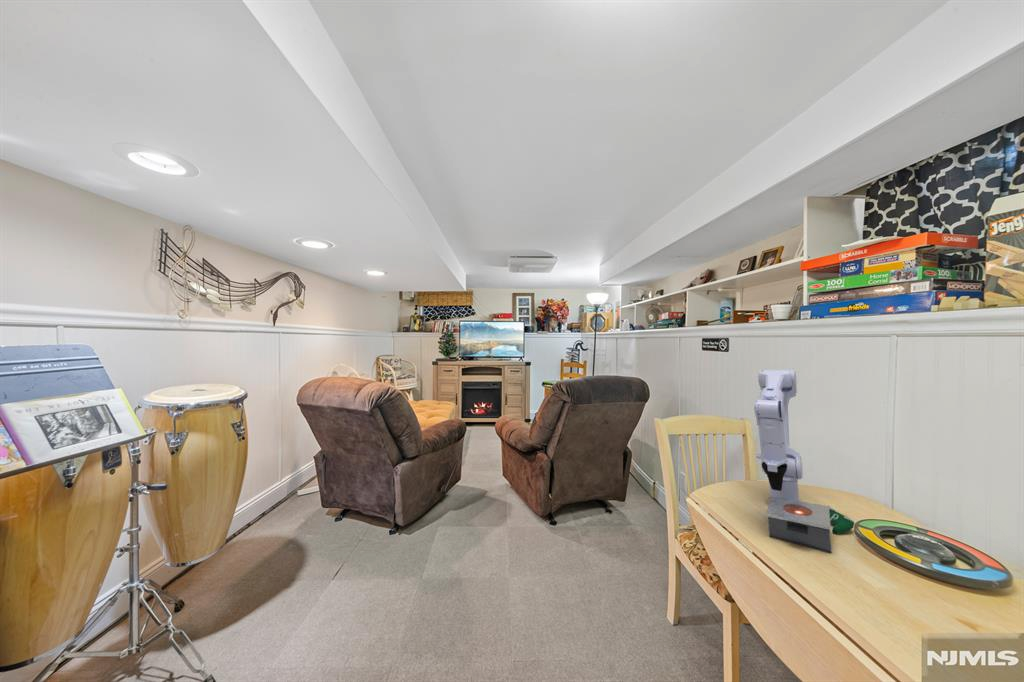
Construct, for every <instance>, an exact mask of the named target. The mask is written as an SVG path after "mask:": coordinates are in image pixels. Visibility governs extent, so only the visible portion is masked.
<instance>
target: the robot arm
mask: <svg viewBox="0 0 1024 682" xmlns="http://www.w3.org/2000/svg"><path fill="white" fill-rule="evenodd" d="M796 373H797V372H796V371H795V370H794V369H793V368H792V369H764V370H763V369H759V370H758V372H757V375H758V377H757V380H758V385H759V388H760V395H759V396H758V397H759V398H758V400H757V401H756V400H755V401H754V404H753V405H754V407H753V410H754V416H755V418H756V425H757V426H758V434H759V435H758V436H759V446H760V447H759V448H760V453H759V454H756V455H755V458H756V459H758V460H759V459H760V463H761V464H760V465H761V471H762V472H763V473H764V474H765V475H766V477H767V479H768V485H769V496H770V497H771V496H773V497H779V498H785V499H790V500H796V501H802V502H803V499H802V500H801V499H800V492H799V491H800V490H799V483H798V482H799V481H798V480H802V479H803V476H804V475H803V463H802V458H801V457H802V455H800V453H799V452H797V451H796V450H795V449H793V447H791V446H790V434H789V433H790V430H789V429H790V428H789V403H790V400H791V399H792V398H794V397H796V396H797V393H798V389H797V387H798V385H797V383H798V381H797V375H796ZM767 503H768V504H769V502H767ZM768 504H767V505H768Z"/></svg>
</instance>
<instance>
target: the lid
mask: <svg viewBox="0 0 1024 682" xmlns="http://www.w3.org/2000/svg"><path fill="white" fill-rule="evenodd" d="M768 503H769V504H767V509H766V512H765V515H766V517H767V518H768V517H772V518H777V519H781V520H786V521H791V522H796V523H800V524H805V525H810V526H814V527H819V528H824V529H828V530H830V531H832V530H831V529H832V528H831V523H830V513H829V506H830V505H823V504H817V503H813V502H808V501H807V502H806V501H803V500H802V501H796V500H790V499H785V498H779V497H773V496H771V497H770V498H769V500H768Z"/></svg>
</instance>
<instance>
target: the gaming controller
mask: <svg viewBox="0 0 1024 682" xmlns="http://www.w3.org/2000/svg"><path fill="white" fill-rule="evenodd" d="M828 506H829V513H830V525H833V527H832V528H831V529H832V530H831V531H832V533H833V534H834V535H842V534H845V533H847V532H849V531H851V530H853V528H854V525H855V521H854V520H853V519H852V518H851V517H850V516H848V515H846V514H842V513H840V512H838V511H836V510H835V509H834V508H833V507H831V506H830V505H828Z"/></svg>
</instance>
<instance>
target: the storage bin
mask: <svg viewBox="0 0 1024 682" xmlns="http://www.w3.org/2000/svg"><path fill="white" fill-rule="evenodd" d="M767 521H768V523H767V524H768V531H769V532H768V533H769V538H772V539H776V540H779V539H780V541H783V542H788V543H791V544H794V545H799V546H802V547H806V548H809V549H810V548H811V549H814V550H817V551H821V552H826V553H829V554H832V544H831V543H832V541H831V530H828V529H824V528H819V527H814V526H810V525H805V524H800V523H796V522H791V521H786V520H781V519H777V518H772V517H767Z"/></svg>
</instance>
